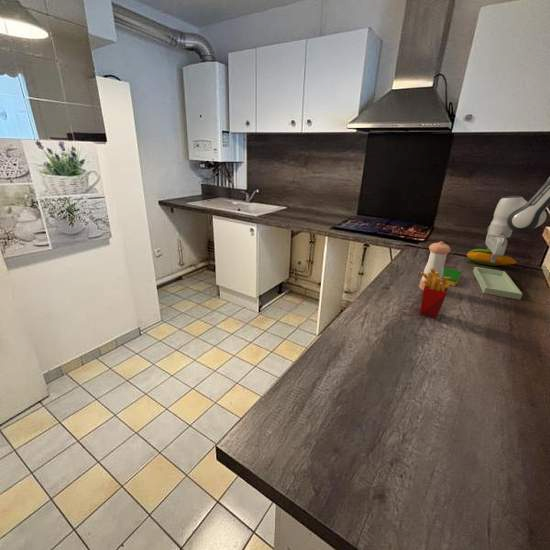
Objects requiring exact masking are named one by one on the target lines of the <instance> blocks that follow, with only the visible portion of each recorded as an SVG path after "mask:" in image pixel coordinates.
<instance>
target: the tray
mask: <svg viewBox="0 0 550 550" xmlns="http://www.w3.org/2000/svg"><path fill="white" fill-rule="evenodd" d="M472 273H473V275H474V277H475V278H476V281H477V283H478V285H479V287H480V289H481V291H482V293H483V294H486V295H491V296H496V297H503V298H506V299H507V298H508V299H514V300H522V298H523V292H522V291H521V290H520V288H519V287H518V286H517V285H516V284H515V283H514V281H513V280H512V278H511V277H510V276H509V274H508V273H507V272H506V271H505V270H499V269H492V268H487V267H486V268H485V267H479V266H474V267H473V270H472Z"/></svg>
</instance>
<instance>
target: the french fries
mask: <svg viewBox="0 0 550 550" xmlns="http://www.w3.org/2000/svg"><path fill="white" fill-rule="evenodd" d="M430 270H431V272H432V274H431V273H428V276H427V274H426V273H424V270H423V271H421V272H420V274H421V276H422V277H423V276H424V277H425V279H426V280H427V281H426V280H424V281H423V282H424V283H425V287H424V291H423V290H422V291H423V292H422V298H421V304H420V311H419V315H421V316H424V317H427V318H432V319H434V320H437V318H438V315H439V314H440V311H441V309H442V305H443V303H444V301H445V299H446V296H447V293H448V289H449V288H450V285H448V284H446V280H448V279H451V276H450V277H443V280H442V281H441V280H440V277H439V272H435V271H434V269H433V268H431V269H430ZM431 279H433V281H431Z"/></svg>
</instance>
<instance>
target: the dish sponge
mask: <svg viewBox="0 0 550 550" xmlns="http://www.w3.org/2000/svg"><path fill="white" fill-rule="evenodd" d="M462 274H463V271H461V270H457V269H452V268H448V267H444V271H443V277H450V276H451V279H448V280H446V284H445V285H449V286H452V287H455V286H457V283H458V282H459V280H460V278H461V277H462ZM443 277H442V280H443ZM442 280H441V281H442Z"/></svg>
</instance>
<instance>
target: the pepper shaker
mask: <svg viewBox="0 0 550 550" xmlns="http://www.w3.org/2000/svg"><path fill="white" fill-rule="evenodd" d="M428 250H429V257H428V260H427V262H426V265H425V268H424V269H423V272H424V273H426V274H427V276H428V273H431V274H432V272H431V270H430V269H431V268H433V269H434V271H435V272H439V277H440V280H442V277H443V271H444V268H445V263H446V259H447V255H449V254H450V252H451V247H450V245H448V244H446V243H445V242H444V241H439V242H433V243H431V244H430V245H429V247H428ZM424 280H426V279H425V277H424V276H423V275H422V277H421V278H420V281H419V285H418V288H419V289H420V290H421V291H424V287H425V283H424V282H423V281H424ZM426 281H427V280H426ZM431 281H433V279H431Z"/></svg>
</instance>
